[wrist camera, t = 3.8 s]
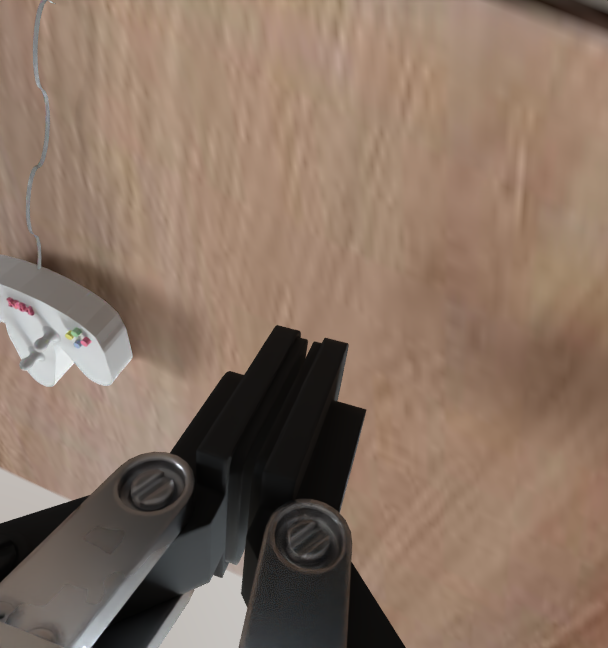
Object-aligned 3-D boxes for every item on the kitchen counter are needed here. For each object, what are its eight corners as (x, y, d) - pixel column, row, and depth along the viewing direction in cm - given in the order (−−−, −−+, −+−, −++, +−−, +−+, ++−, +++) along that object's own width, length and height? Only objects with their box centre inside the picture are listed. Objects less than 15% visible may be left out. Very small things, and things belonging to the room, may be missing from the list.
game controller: (22, 359, 19) (-34, 402, 17) (-118, 9, 13) (-230, 7, 11) (151, 381, 18) (107, 430, 16) (58, -2, 12) (-33, -6, 10)
